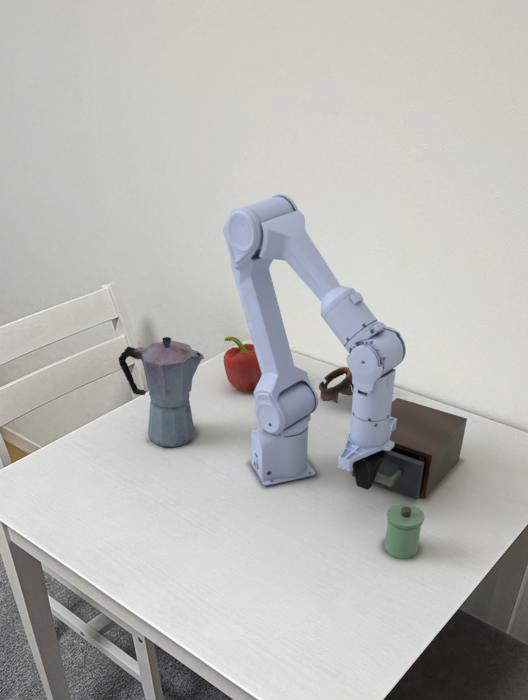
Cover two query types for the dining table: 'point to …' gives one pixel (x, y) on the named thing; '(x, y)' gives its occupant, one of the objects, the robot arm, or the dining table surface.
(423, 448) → the cabinet
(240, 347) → the vegetable
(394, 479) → the drawer
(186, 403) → the moka pot
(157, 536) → the dining table surface
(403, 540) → the pot
